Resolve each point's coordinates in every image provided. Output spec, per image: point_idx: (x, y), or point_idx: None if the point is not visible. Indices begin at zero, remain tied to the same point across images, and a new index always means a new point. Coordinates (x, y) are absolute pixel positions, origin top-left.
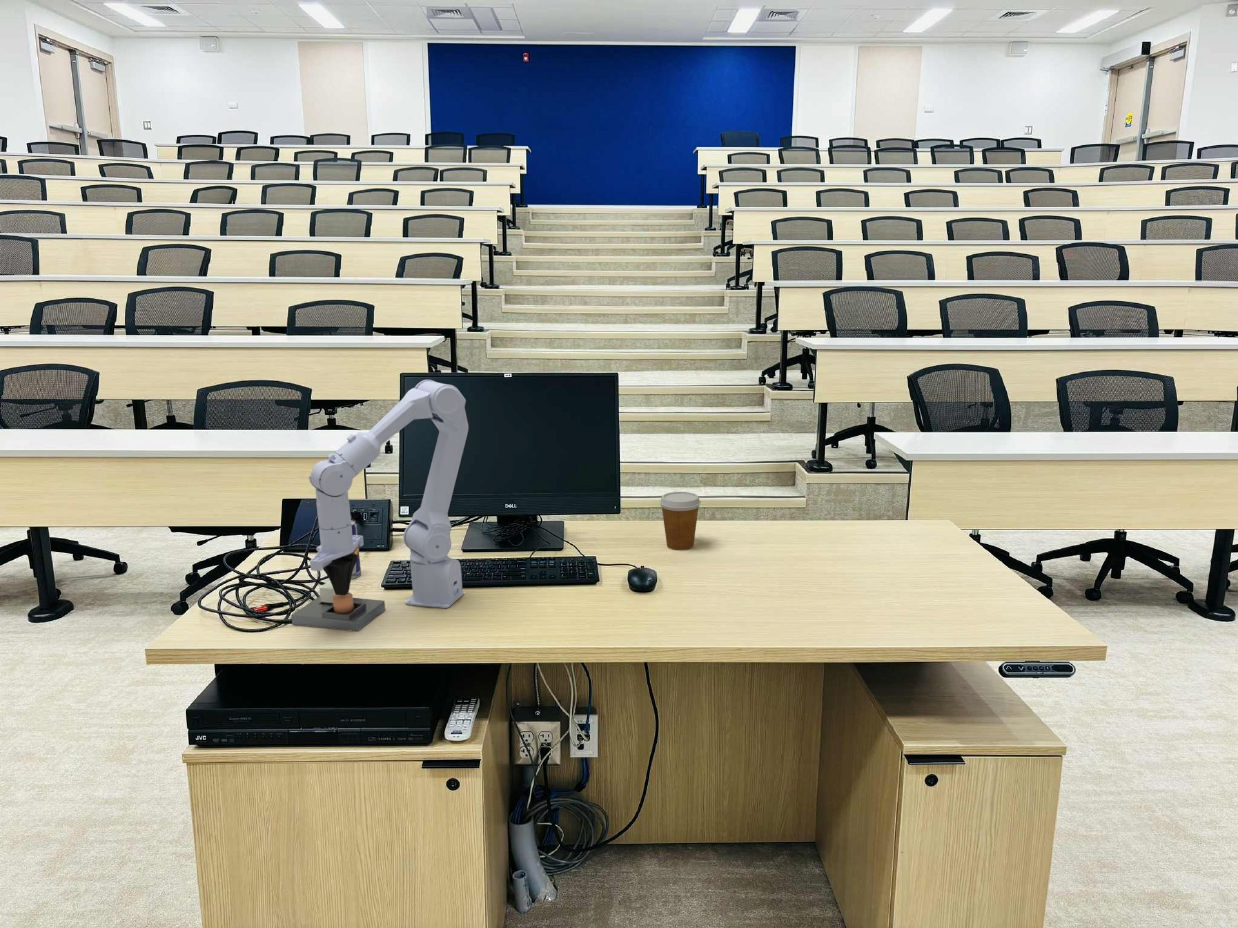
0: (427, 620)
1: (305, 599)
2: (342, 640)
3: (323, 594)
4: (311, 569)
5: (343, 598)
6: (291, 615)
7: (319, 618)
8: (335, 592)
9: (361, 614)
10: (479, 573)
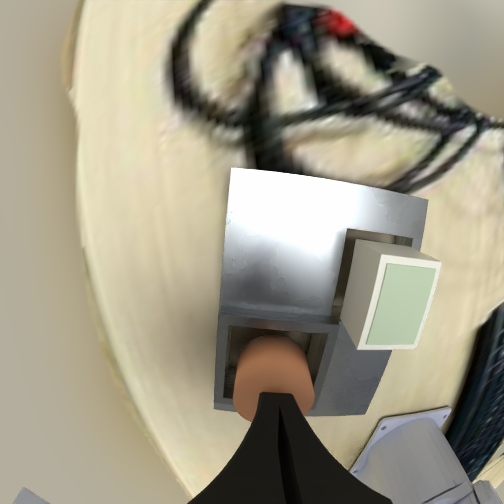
0: None
1: (433, 123)
2: (161, 371)
3: (364, 263)
4: (22, 491)
5: (250, 410)
6: (231, 168)
7: (220, 294)
8: (259, 398)
9: None
10: (481, 432)
